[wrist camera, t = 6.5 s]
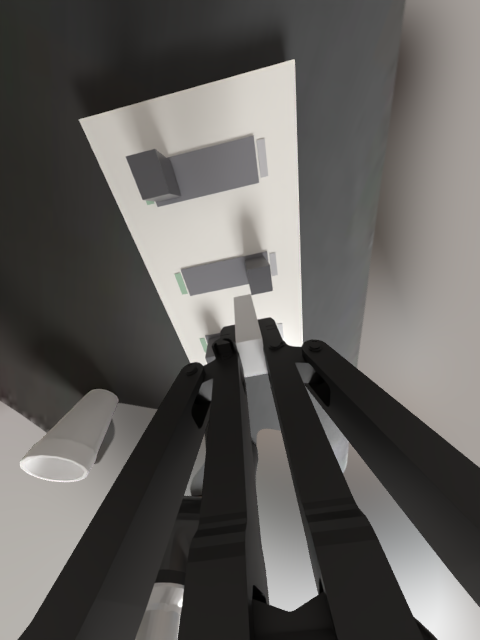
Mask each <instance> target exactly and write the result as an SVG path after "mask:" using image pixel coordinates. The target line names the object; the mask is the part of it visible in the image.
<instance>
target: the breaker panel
mask: <svg viewBox="0 0 480 640" xmlns="http://www.w3.org/2000/svg"><path fill="white" fill-rule="evenodd" d="M79 121H80V123H81V126H82V128H83V130H84V132H85V134H86V136H87V139H88V141H89V143H90V145H91V147H92V150H93V152H94V154H95V156H96V158H97V160H98V163H99V165H100V167H101V169H102V171H103V174H104V176H105V178H106V180H107V182H108V184H109V187H110V189H111V191H112V193H113V195H114V197H115V200H116V202H117V204H118V206H119V208H120V211H121V213H122V215H123V217H124V219H125V221H126V224H127V226H128V228H129V230H130V232H131V235H132V237H133V239H134V241H135V243H136V245H137V248H138V250H139V252H140V254H141V256H142V258H143V261H144V263H145V265H146V267H147V269H148V272H149V274H150V276H151V278H152V280H153V282H154V285H155V287H156V289H157V291H158V293H159V295H160V298H161V300H162V302H163V304H164V306H165V309H166V311H167V313H168V315H169V317H170V319H171V322H172V324H173V326H174V328H175V330H176V333H177V335H178V337H179V339H180V341H181V343H182V346H183V348H184V350H185V352H186V354H187V356H188V359H189V361H190V363H193V362H199V363H201V364H202V365H203V366H204V365H206V364H207V361H206V359H205V356H206V350H207V345H208V339H210V338H215V337H220V331H221V330H222V328H223V327H225V326H230V325H235V315H234V297H238V296H243V295H248V294H251V291H250V287H249V282H248V277H247V272H246V266H245V261H244V260H247V259H252V258H256V257H261V256H264V257H265V259H266V260H267V262H268V263H269V264H270V269H271V278H272V287H273V291H270V292H265V293H260V294H255V295H251V297H252V301H253V305H254V308H255V312H256V316H257V320H258V319H263V318H268V317H271V318H272V319H274V320H275V323H276V325H277V328H278V330H279V332H280V335H281V337H282V339H283V341H285V342H286V344H288V345H290V346H296V347H302V345H303V327H302V292H301V258H300V223H299V189H298V154H297V119H296V85H295V59H293V60H290V61H286V62H283V63H279V64H276V65H272V66H268V67H265V68H261V69H258V70H254V71H251V72H247V73H243V74H240V75H236V76H233V77H229V78H226V79H222V80H218V81H215V82H211V83H208V84H204V85H201V86H197V87H193V88H190V89H186V90H183V91H179V92H176V93H172V94H168V95H165V96H161V97H158V98H154V99H151V100H147V101H143V102H140V103H136V104H133V105H129V106H126V107H122V108H118V109H115V110H111V111H108V112H104V113H101V114H97V115H93V116H90V117H86V118H83V119H79ZM152 149H156V150H157V151H159V152H160V153H161V154H162V155H164V156H165V157H166V158H167V159H169V160H170V161H171V163H172V167H173V170H174V173H175V177H176V180H177V183H178V187H179V190H180V193H181V196H182V197H177V198H173V199H169V200H165V201H161V202H156V201H146V200H142V197H141V195H140V192H139V189H138V187H137V184H136V182H135V179H134V177H133V174H132V172H131V169H130V167H129V164H128V162H127V159H126V157H125V156H129V155H133V154H137V153H141V152H145V151H148V150H152Z"/></svg>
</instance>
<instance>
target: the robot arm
mask: <svg viewBox="0 0 480 640" xmlns="http://www.w3.org/2000/svg"><path fill="white" fill-rule="evenodd" d="M234 315H235V325H230V326H225V327H223V328H222V330H221V331H220V338H219V339H218V340H216V341H215V342H214V343H213V344H212V349H213V352H214V355H215V360H213V361H212V362H210V363H208V364H206V365H204V366H203V365H202V364H201V363H199V362H193V363H190V364H188V365H186V366H185V367H183V369H182V370H181V371H180V373H179V375H178V376H177V378H176V380H175V381H174V383H173V385H172V386H171V388H170V390H169V391H168V393H167V395H166V397H165V398H164V400H163V402H162V403H161V405H160V407H159V408H158V410H157V412H156V413H155V415H154V417H153V418H152V420H151V422H150V423H149V425H148V427H147V428H146V430H145V432H144V433H143V435H142V437H141V439H140V440H139V442H138V444H137V446H136V447H135V449H134V450H133V452H132V454H131V455H130V457H129V459H128V460H127V462H126V464H125V465H124V467H123V469H122V471H121V472H120V474H119V476H118V477H117V479H116V481H115V483H114V484H113V486H112V487H111V489H110V491H109V492H108V494H107V496H106V497H105V499H104V501H103V502H102V504H101V506H100V507H99V509H98V511H97V513H96V514H95V516H94V518H93V519H92V521H91V523H90V524H89V526H88V528H87V529H86V531H85V533H84V534H83V536H82V538H81V539H80V541H79V543H78V544H77V546H76V548H75V549H74V551H73V553H72V555H71V556H70V558H69V560H68V561H67V563H66V565H65V566H64V568H63V570H62V571H61V573H60V575H59V576H58V578H57V580H56V581H55V583H54V585H53V586H52V588H51V590H50V591H49V593H48V595H47V597H46V598H45V600H44V602H43V603H42V605H41V607H40V608H39V610H38V612H37V613H36V615H35V617H34V619H33V620H32V622H31V623H30V625H29V626H28V627H27V628H26V630H25V631H24V632H23V634H22V635H21V636H20V637H19V639H18V640H177V634H178V640H437V638H436V637H435V636H434V635H433V634H432V633H431V632H429V630H427V629H426V628H425V627H424V626H423V625H422V624H421V623H420V622H419V621H418V620H417V619H415V618H414V617H413V615H412V613H411V611H410V608H409V606H408V604H407V602H406V599H405V597H404V595H403V593H402V591H401V589H400V586H399V584H398V582H397V580H396V578H395V575H394V573H393V571H392V569H391V566H390V564H389V562H388V560H387V558H386V555H385V553H384V551H383V549H382V547H381V545H380V542H379V540H378V538H377V536H376V534H375V532H374V530H373V528H372V526H371V524H370V522H369V521H368V519H367V517H366V516H365V515H364V514H363V513H362V511H361V510H360V509H359V508H358V506H357V505H356V503H355V500H354V498H353V496H352V494H351V492H350V489H349V487H348V485H347V482H346V480H345V478H344V476H343V473H342V471H341V468H340V466H339V464H338V461H337V459H336V457H335V454H334V452H333V450H332V448H331V445H330V443H329V441H328V438H327V436H326V434H325V431H324V429H323V427H322V424H321V422H320V420H319V417H318V415H317V413H316V410H315V408H314V406H313V404H312V401H311V399H310V397H309V394H308V392H307V390H306V387H307V389H308V390H309V391H310V392H311V394H312V395H313V396H314V397H315V399H316V400H317V401H318V403H319V404H320V405H321V406H322V408H323V409H324V410H325V412H326V413H327V414H328V415H329V417H330V418H331V419H332V421H333V422H334V423H335V424H336V426H337V427H338V428H339V430H340V431H341V432H342V433H343V435H344V436H345V437H346V438H347V440H348V441H349V442H350V444H351V445H352V446H353V447H354V449H355V450H356V451H357V452H358V454H359V455H360V456H361V458H362V459H363V460H364V462H365V463H366V464H367V465H368V467H369V468H370V469H371V470H372V472H373V473H374V474H375V476H376V477H377V478H378V479H379V481H380V482H381V483H382V485H383V486H384V487H385V488H386V489H387V491H388V492H389V494H390V495H391V496H392V497H393V499H394V500H395V501H396V503H397V504H398V505H399V506H400V508H401V509H402V510H403V511H404V513H405V514H406V515H407V517H408V518H409V519H410V520H411V522H412V523H413V524H414V526H415V527H416V528H417V529H418V531H419V532H420V533H421V534H422V536H423V537H424V538H425V540H426V541H427V542H428V543H429V545H430V546H431V547H432V549H433V550H434V551H435V552H436V554H437V555H438V556H439V557H440V559H441V560H442V561H443V563H444V564H445V565H446V566H447V568H448V569H449V570H450V572H451V573H452V574H453V575H454V577H455V578H456V579H457V580H458V582H459V583H460V584H461V585H462V586H463V587H464V589H465V590H466V591H467V592H468V594H469V595H470V596H471V597H472V598H473V600H474V601H475V602H476V603H477V604H478V606H479V607H480V468H479V467H478V466H477V465H475V464H474V463H473V462H472V461H470V460H469V459H468V458H467V457H465V456H464V455H463V454H462V453H461V452H459V451H458V450H457V449H456V448H454V447H453V446H452V445H451V444H449V443H448V442H447V441H446V440H445V439H443V438H442V437H441V436H440V435H438V434H437V433H436V432H435V431H433V430H432V429H431V428H430V427H429V426H427V425H426V424H425V423H423V422H422V421H421V420H420V419H419V418H417V417H416V416H415V415H413V414H412V413H411V412H410V411H409V410H408V409H406V408H405V407H404V406H403V405H401V404H400V403H399V402H398V401H396V400H395V399H394V398H393V397H391V396H390V395H389V394H388V393H387V392H385V391H384V390H383V389H382V388H380V387H379V386H378V385H377V384H375V383H374V382H373V381H372V380H370V379H369V378H368V377H367V376H366V375H364V374H363V373H362V372H361V371H359V370H358V369H357V368H356V367H354V366H353V365H352V364H351V363H350V362H348V361H347V360H346V359H345V358H343V357H342V356H341V355H340V354H338V353H337V352H336V351H335V350H333V349H332V348H331V347H330V346H329V345H327V344H326V343H324V342H323V341H320V340H308V341H306V342H304V343H303V345H302V347H296V346H290V345H288V344H286V342H285V341H283V339H282V337H281V335H280V332H279V330H278V328H277V325H276V323H275V320H274V319H272V318H271V317H268V318H263V319H258V320H257V316H256V312H255V308H254V305H253V301H252V297H251V294H248V295H243V296H238V297H234ZM266 373H268V376H269V381H270V387H271V390H272V394H273V398H274V402H275V407H276V411H277V415H278V420H279V424H280V428H281V433H282V437H283V441H284V445H285V449H286V454H287V458H288V462H289V467H290V470H291V475H292V480H293V484H294V488H295V492H296V497H297V501H298V505H299V510H300V514H301V518H302V523H303V526H304V531H305V536H306V540H307V544H308V550H309V555H310V559H311V564H312V568H313V573H314V577H315V581H316V586H317V590H318V595H317V596H316V597H314V598H313V599H311V600H310V601H309V602H307V603H305V604H304V605H302V606H301V607H299V608H298V609H296V610H294V611H292V612H288V611H285V610H282V609H279V608H276V607H274V606H271V605H269V597H268V587H267V578H266V570H265V563H264V557H263V551H262V545H261V536H260V525H259V515H258V505H257V495H256V484H255V477H256V470H257V463H258V450H257V447H256V446H255V445H254V444H253V443H251V433H250V422H249V412H248V402H247V391H246V383H245V379H244V376H245V377H249V376H255V375H260V374H266ZM304 384H305V385H304ZM305 386H306V387H305ZM208 421H209V427H208V438H207V448H206V458H205V468H204V479H203V489H202V497H195V496H184V493H185V490H186V487H187V484H188V481H189V478H190V475H191V472H192V469H193V466H194V463H195V460H196V457H197V454H198V451H199V448H200V445H201V442H202V439H203V436H204V433H205V430H206V427H207V424H208ZM180 614H181V616H180ZM179 616H180V626H179V633H178V625H179Z"/></svg>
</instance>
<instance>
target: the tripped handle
mask: <svg viewBox="0 0 480 640" xmlns="http://www.w3.org/2000/svg"><path fill="white" fill-rule="evenodd" d="M244 261H245V266H246V272H247V277H248V282H249V287H250V291H251V295H255V294H260V293H265V292H270V291H273V287H272V278H271V269H270V264H269V263H268V262H267V260H266V259H265V257H264V256H261V257H256V258H252V259H247V260H244Z"/></svg>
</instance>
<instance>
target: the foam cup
mask: <svg viewBox="0 0 480 640" xmlns="http://www.w3.org/2000/svg"><path fill="white" fill-rule="evenodd" d="M118 401H119V400H118V397H117V396H116V395H115V394H114V393H112V392H110V391H108V390H104V389H93V390H91V391H89V392H88V393H87V394H86V395H85V396H84V397H83V398H82V399H81V400H80V401H79V402H78V403H77V404H76V405H75V406H74V407H73V408H72V409H71V410H70V411H69V412H68V413H67V414H66V415H65V416H64V417H63V418H62V419H61V420H60V421H59V422H58V423H57V424H56V425H55V426H54V427H53V428H52V429H51V430H50V431H49V432H48V433H47V434H46V435H45V436H44V437H43V438H42V439H41V440H40V441H39V442H37V443H36V444H34V445H33V447H32V448H31V449H30V450H29V451H28V453H27V454H26V455H25V456H24V457H23V459H22V460H21V461H20V468H21V469H23V470H24V471H25V472H26V473H28V474H30V475H32V476H35V477H37V478H40V479H44V480H49V481H55V482H73V481H80V480H82V479H83V478H86V477H87V475H88V473H89V471H90V470H91V468H92V466H93V464H94V462H95V460H96V457H97V452H98V450H99V448H100V445H101V443H102V440H103V438H104V436H105V433H106V431H107V428H108V426H109V424H110V421H111V419H112V416H113V414H114V411H115V409H116V407H117V404H118Z"/></svg>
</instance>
